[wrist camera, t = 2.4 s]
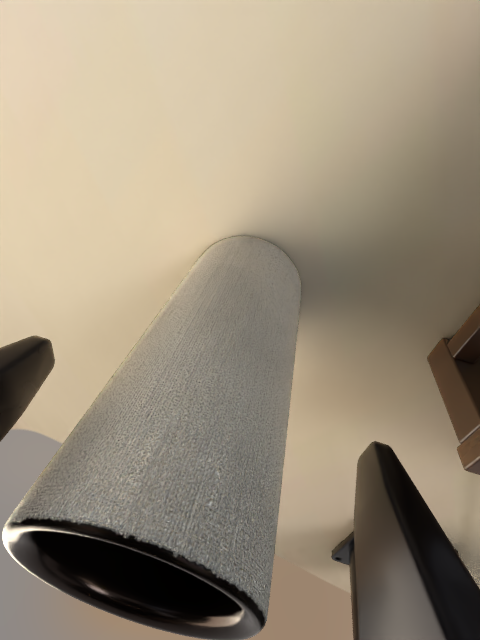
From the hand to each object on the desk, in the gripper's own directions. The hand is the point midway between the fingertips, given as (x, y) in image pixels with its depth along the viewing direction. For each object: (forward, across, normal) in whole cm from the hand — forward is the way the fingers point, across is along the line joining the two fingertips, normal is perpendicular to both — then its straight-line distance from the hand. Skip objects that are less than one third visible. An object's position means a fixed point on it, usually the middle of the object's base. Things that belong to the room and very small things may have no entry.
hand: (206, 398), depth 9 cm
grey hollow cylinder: (+6, 0, 0) cm, 6 cm away
